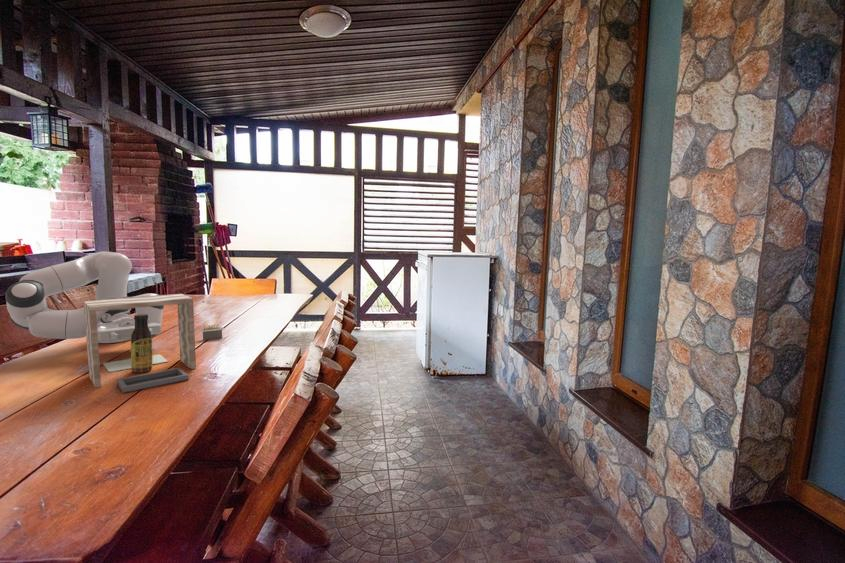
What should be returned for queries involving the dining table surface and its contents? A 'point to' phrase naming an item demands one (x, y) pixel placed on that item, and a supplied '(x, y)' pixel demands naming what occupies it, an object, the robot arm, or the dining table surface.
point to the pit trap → (151, 380)
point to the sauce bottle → (141, 345)
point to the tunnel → (135, 302)
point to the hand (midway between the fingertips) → (134, 335)
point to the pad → (127, 363)
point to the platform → (212, 332)
